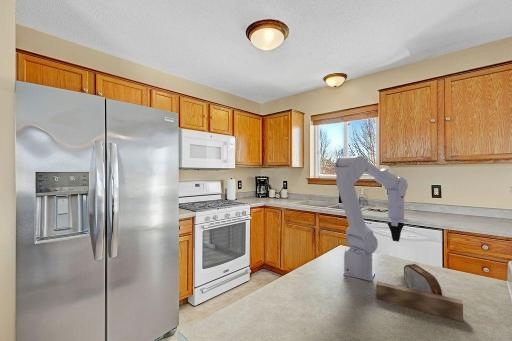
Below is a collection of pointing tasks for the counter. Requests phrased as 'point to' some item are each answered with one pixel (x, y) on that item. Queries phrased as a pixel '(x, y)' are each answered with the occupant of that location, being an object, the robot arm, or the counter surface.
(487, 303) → the counter surface
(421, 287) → the tin
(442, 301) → the walnut board
